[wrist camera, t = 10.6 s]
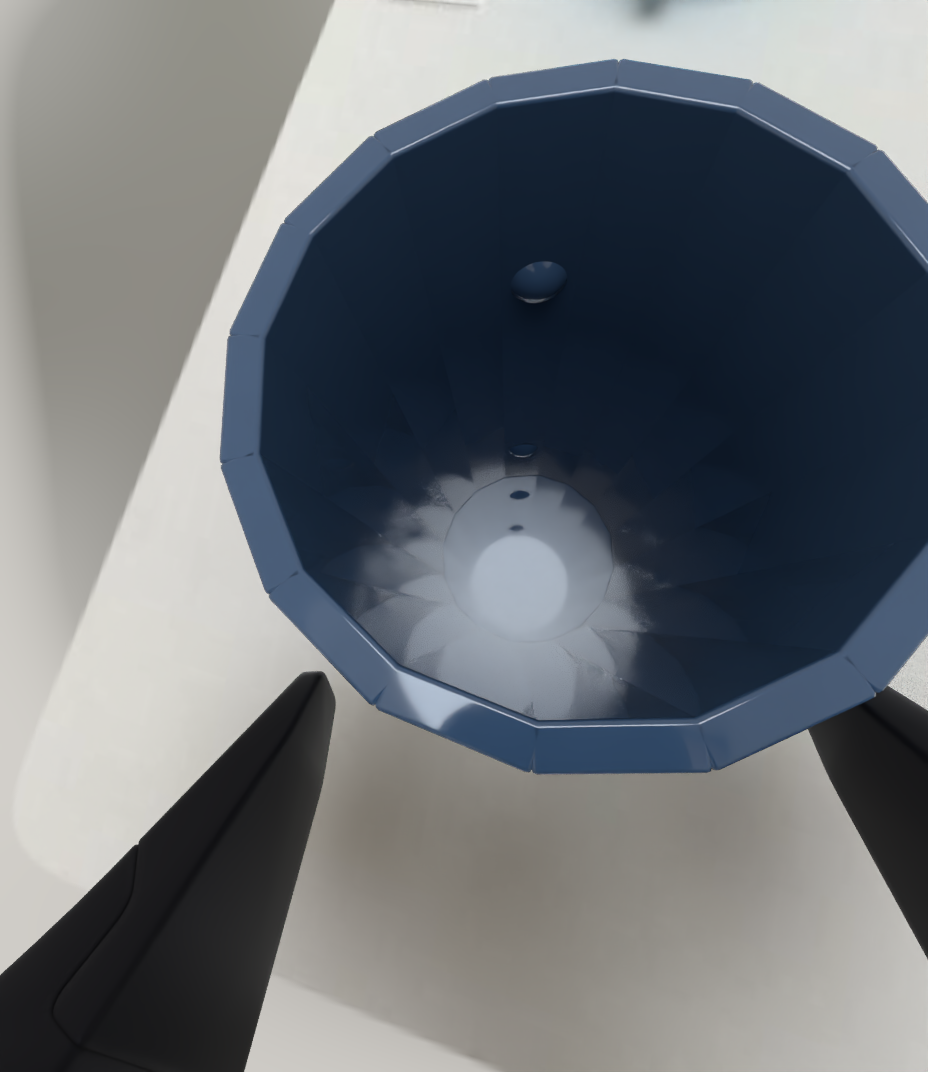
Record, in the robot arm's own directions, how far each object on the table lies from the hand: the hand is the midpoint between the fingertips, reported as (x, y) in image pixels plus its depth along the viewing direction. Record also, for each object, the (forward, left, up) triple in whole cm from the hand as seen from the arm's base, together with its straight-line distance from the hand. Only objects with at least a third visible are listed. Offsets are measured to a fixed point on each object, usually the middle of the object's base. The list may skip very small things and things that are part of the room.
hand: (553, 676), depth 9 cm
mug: (+5, +1, -8) cm, 9 cm away
